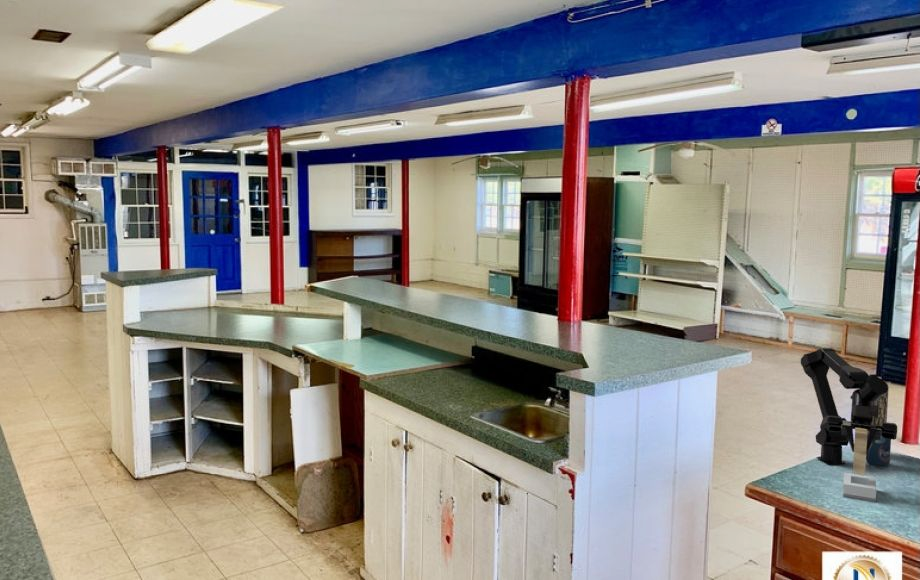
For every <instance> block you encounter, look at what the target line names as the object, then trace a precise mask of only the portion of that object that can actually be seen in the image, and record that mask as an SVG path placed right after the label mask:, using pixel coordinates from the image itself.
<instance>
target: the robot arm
mask: <svg viewBox="0 0 920 580" xmlns="http://www.w3.org/2000/svg"><path fill="white" fill-rule="evenodd" d="M800 365H801V366H802V370H803V371H804V373H805V374H806V376H808V377H809V378H810V379H811V381H812V386H813V389H814V391H815V397H816V399H817V403H818V406H819V409H820V413H821V416H822V420H821V423H820V424H819V425H820V426H819V428H820V429H819V432H817V434H816V435H815V441H816V443H817V444H819V445H820V446H821V447H820V456H817V457H816V459H817V458H818V459H817V460H819V461H820V462H822V463H823V464H825V465H828V466H832V465H833V466H835V465H845V464H846V461H844V460H843V446H844V447H848V445H849V446H850V450H851V451H852V452H853V453H854V440H855V437H854V430H855V428H862V429H867V431H870V432H869V437H868V442H867V447H866V454H868V452H869V450H870V448H871V446H872V445H873V443H874V442H875V441H876V440H880V437H881V436H882V437H883V438H885V439H891V440H893V441H894V440H897V436H898V425H897V424H896V423H894V422H888V421H887V422H882V426H876V425H872V422H873V416H876V417H878V414H879V406H877V405H873V401H876V400H878V399H879V398H880V397H882V396H883V395H884V394H885V393H886V392H887V391H888V392H889V390H888V387H889V385H888V383H887V382H886V381H885V380H884V379H882V378H880V377H878V374H876V373H874V374H871V373H870V374H868V372H866V371H865V370H863V369H862V368H859V367H856V366H852V365H851V364H850V363H848V362H847V360H845V359H844V358H842V356H840V355H839V354H838V353H837V352H836V349H834V348H832V347H827V348H825V347H824V348H819V349H816V350H815V351H811V352H808V353H804V354H803V356H801V358H800ZM830 369H831V370H832V371H834V373H835V374H836V375H838V377H839V379H838V381H839V383H840V385H842V387H843V388H844V389H845V390H854V391H853V392H852V394H851V396H850V400H851V411H850V421H849V420H847V419H846V418H845V417H842V416H840V415H839V413H838V409H837V405H836V403H835V400H834V396H833V392H832V390H831V386H830V383H829V380H828V372H829V371H830Z"/></svg>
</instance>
